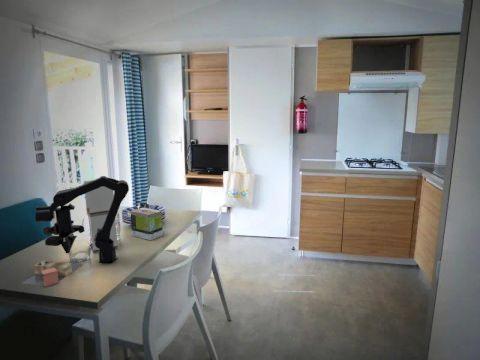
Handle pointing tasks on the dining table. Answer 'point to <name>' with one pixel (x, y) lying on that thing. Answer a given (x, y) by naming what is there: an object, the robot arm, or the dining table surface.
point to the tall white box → (99, 212)
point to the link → (61, 268)
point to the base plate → (40, 281)
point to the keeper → (50, 276)
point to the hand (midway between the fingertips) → (67, 253)
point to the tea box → (146, 223)
